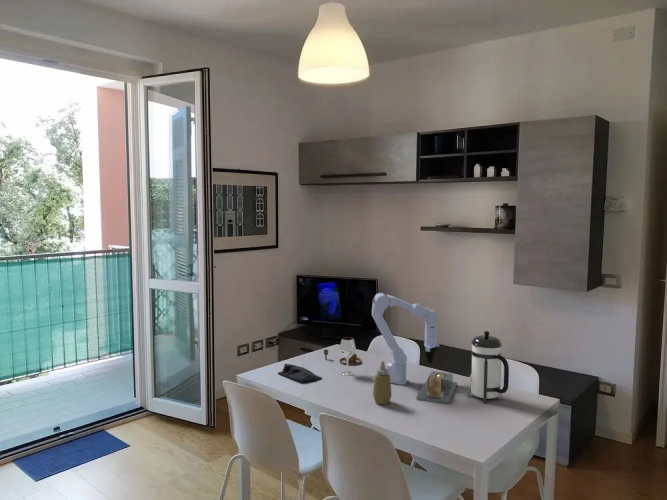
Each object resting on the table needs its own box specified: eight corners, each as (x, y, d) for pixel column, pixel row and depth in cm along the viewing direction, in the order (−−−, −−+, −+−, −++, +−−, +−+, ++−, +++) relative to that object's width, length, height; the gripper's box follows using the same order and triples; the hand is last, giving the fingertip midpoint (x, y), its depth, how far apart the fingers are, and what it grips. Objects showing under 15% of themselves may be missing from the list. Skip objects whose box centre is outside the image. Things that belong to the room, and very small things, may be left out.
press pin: (436, 382, 235) (436, 375, 234) (437, 380, 238) (437, 373, 238) (443, 383, 233) (443, 376, 233) (444, 381, 237) (445, 374, 236)
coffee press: (465, 402, 216) (467, 333, 214) (469, 390, 231) (471, 326, 229) (507, 407, 210) (509, 337, 208) (509, 395, 225) (511, 329, 223)
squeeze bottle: (379, 407, 210) (379, 365, 208) (369, 400, 217) (369, 360, 216) (395, 404, 214) (395, 362, 212) (384, 397, 221) (385, 357, 219)
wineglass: (358, 372, 255) (358, 338, 254) (350, 377, 248) (350, 341, 247) (344, 370, 259) (344, 336, 258) (336, 374, 253) (336, 339, 251)
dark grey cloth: (298, 386, 237) (298, 376, 236) (275, 373, 254) (275, 364, 254) (324, 380, 245) (324, 370, 245) (301, 368, 263) (301, 359, 263)
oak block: (428, 394, 222) (429, 380, 221) (430, 391, 226) (431, 376, 225) (439, 395, 220) (439, 381, 219) (440, 392, 224) (441, 378, 224)
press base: (416, 399, 219) (416, 387, 218) (427, 381, 243) (427, 370, 243) (448, 404, 214) (449, 392, 213) (457, 384, 238) (457, 374, 238)
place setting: (345, 369, 263) (345, 358, 263) (321, 360, 279) (321, 350, 278) (369, 362, 275) (369, 352, 274) (345, 354, 290) (345, 344, 289)
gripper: (436, 339, 233) (435, 367, 234) (441, 332, 246) (441, 359, 247) (421, 337, 235) (420, 365, 236) (427, 331, 249) (426, 357, 250)
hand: (430, 362), depth 242 cm, fingers closed
